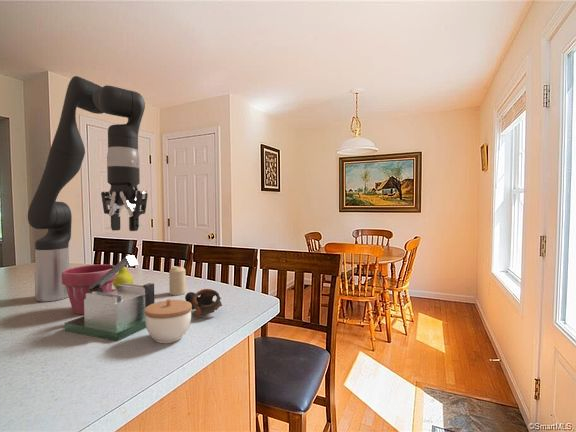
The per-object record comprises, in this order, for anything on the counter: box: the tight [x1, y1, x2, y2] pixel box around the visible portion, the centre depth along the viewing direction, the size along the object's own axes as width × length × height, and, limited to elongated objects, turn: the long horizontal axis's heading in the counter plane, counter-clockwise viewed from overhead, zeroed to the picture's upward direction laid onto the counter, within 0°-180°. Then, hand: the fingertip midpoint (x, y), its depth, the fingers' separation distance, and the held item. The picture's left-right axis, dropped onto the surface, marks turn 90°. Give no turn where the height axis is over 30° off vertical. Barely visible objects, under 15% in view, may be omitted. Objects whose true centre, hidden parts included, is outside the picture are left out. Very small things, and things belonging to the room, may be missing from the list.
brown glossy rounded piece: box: [184, 288, 223, 320], centre depth 94 cm, size 12×10×8 cm
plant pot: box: [62, 263, 117, 315], centre depth 97 cm, size 14×14×13 cm
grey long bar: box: [89, 254, 139, 290], centre depth 86 cm, size 16×3×3 cm
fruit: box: [112, 266, 134, 290], centre depth 119 cm, size 7×7×12 cm
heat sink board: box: [64, 282, 155, 342], centre depth 85 cm, size 18×16×11 cm
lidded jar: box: [145, 298, 192, 344], centre depth 77 cm, size 11×11×9 cm
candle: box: [168, 265, 187, 296], centre depth 115 cm, size 6×6×10 cm
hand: (124, 230), depth 84 cm, fingers open, 5 cm apart
